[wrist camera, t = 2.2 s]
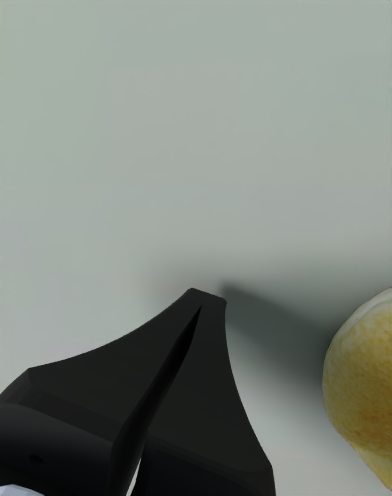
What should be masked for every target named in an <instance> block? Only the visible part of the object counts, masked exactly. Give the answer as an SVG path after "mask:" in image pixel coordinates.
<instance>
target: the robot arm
mask: <svg viewBox="0 0 392 496" xmlns="http://www.w3.org/2000/svg"><path fill="white" fill-rule="evenodd" d="M226 304H227V302H226V300H225V299H224V298H221V297H218V296H215V295H212V294H209V293H206V292H203V291H200V290H197V289H194V288H190V289H188V290H187V291H186V292H185V293H184V294H183V295H182V296H181V297H180V298H179V299H178V300H176V301H175V302H174V303H173V304H172V305H170V306H169V307H168V308H166V309H165V310H164V311H162V312H161V313H160V314H158V315H157V316H156V317H154V318H153V319H151V320H150V321H148V322H146V323H145V324H143V325H142V326H140V327H139V328H137V329H135V330H134V331H132V332H130V333H128V334H126V335H124V336H123V337H121V338H119V339H117V340H114V341H112V342H110V343H108V344H106V345H104V346H101V347H99V348H96V349H94V350H91V351H89V352H86V353H83V354H80V355H77V356H74V357H71V358H68V359H65V360H61V361H57V362H53V363H49V364H45V365H41V366H36V367H32V368H28V369H27V370H26V371H25V372H24V373H22V374H21V375H20V376H19V377H18V378H16V379H15V380H14V381H13V382H12V383H11V384H10V385H9V386H8V387H7V388H6V389H5V390H4V391H3V392H2V393H1V394H0V496H126V494H127V491H128V489H129V486H130V484H131V481H132V479H133V476H134V474H135V471H136V469H137V466H138V464H139V461H140V459H141V461H140V465H139V470H138V474H137V478H136V483H135V486H134V488H133V490H132V493H131V495H130V496H276V492H275V482H274V475H273V469H272V465H271V463H270V462H269V460H268V458H267V456H266V454H265V453H264V451H263V449H262V447H261V445H260V443H259V441H258V439H257V437H256V435H255V433H254V431H253V429H252V426H251V424H250V422H249V420H248V417H247V414H246V412H245V409H244V407H243V404H242V402H241V399H240V396H239V393H238V390H237V387H236V384H235V380H234V377H233V373H232V369H231V364H230V360H229V354H228V348H227V341H226V331H225V309H226ZM141 456H142V457H141Z"/></svg>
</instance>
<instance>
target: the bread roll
mask: <svg viewBox="0 0 392 496" xmlns="http://www.w3.org/2000/svg"><path fill="white" fill-rule="evenodd" d="M323 372H324V373H323V381H322V391H323V396H324V398H323V400H324V404H325V409H326V412H327V415H328V417H329V420H330V422H331V423H332V425H333V427H334V428H335V430H336V431H337V432H338V433H339V434H340V435H341V436H342V437H343V438H344V439H345V440H346V441H347V442H348V443H349V444H350V445H351V446H352V447H353V449H354V450H355V451H356V452H357V453H358V455H359V456H360V457H361V458H362V460H363V461H364V462H365V463H366V465H367V466H368V467H369V468H370V469H371V470H372V472H373V473H374V474H375V475H376V476H377V477H378V478H379V479H380V481H381V482H382V483H383V484H384V485H385V486H386V487H387V488H388V489H390V490H391V491H392V287H391V288H388V289H386V290H384V291H382V292H381V293H379V294H377V295H376V296H374V297H373V298H372V299H370V300H369V301H367V302H365V303H364V304H362V305H361V306H360V307H359V308H358V309H357V310H355V311H354V312H353V314H352V315H351V316H350V317H349V318H348V319H347V320H346V321H345V323H344V324H343V325H342V326H341V327H340V329H339V330H338V332H337V333H336V334H335V336H334V337H333V339H332V341H331V344H330V345H329V348H328V351H327V354H326V357H325V361H324V366H323Z"/></svg>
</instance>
